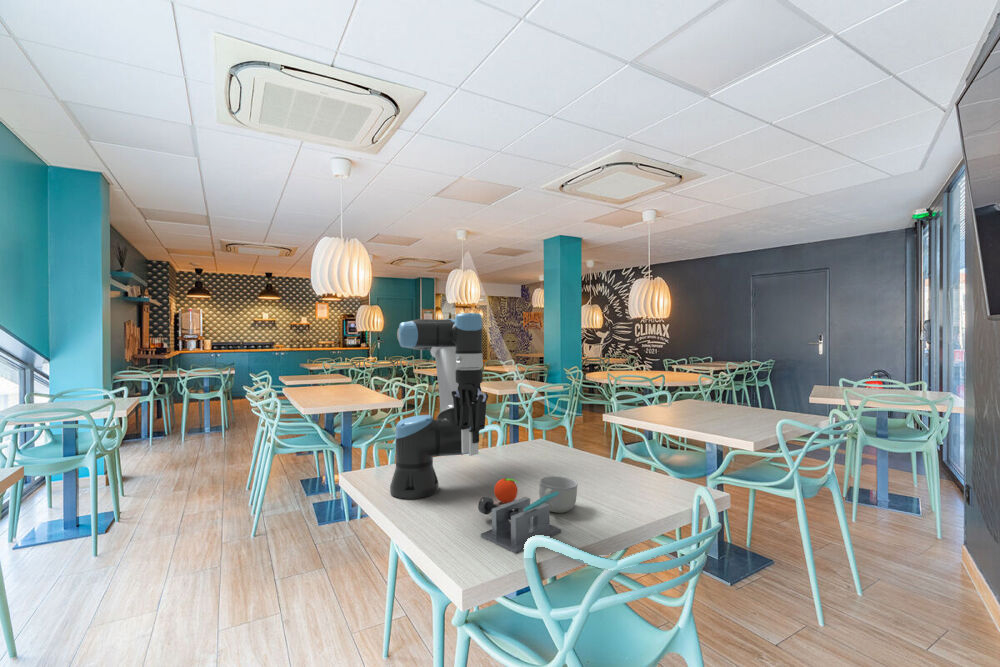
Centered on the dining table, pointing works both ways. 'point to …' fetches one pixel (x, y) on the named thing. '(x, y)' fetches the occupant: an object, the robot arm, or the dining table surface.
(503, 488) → the clementine
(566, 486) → the teacup
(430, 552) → the dining table surface
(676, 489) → the dining table surface
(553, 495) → the plate
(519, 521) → the bracket
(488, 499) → the pin
